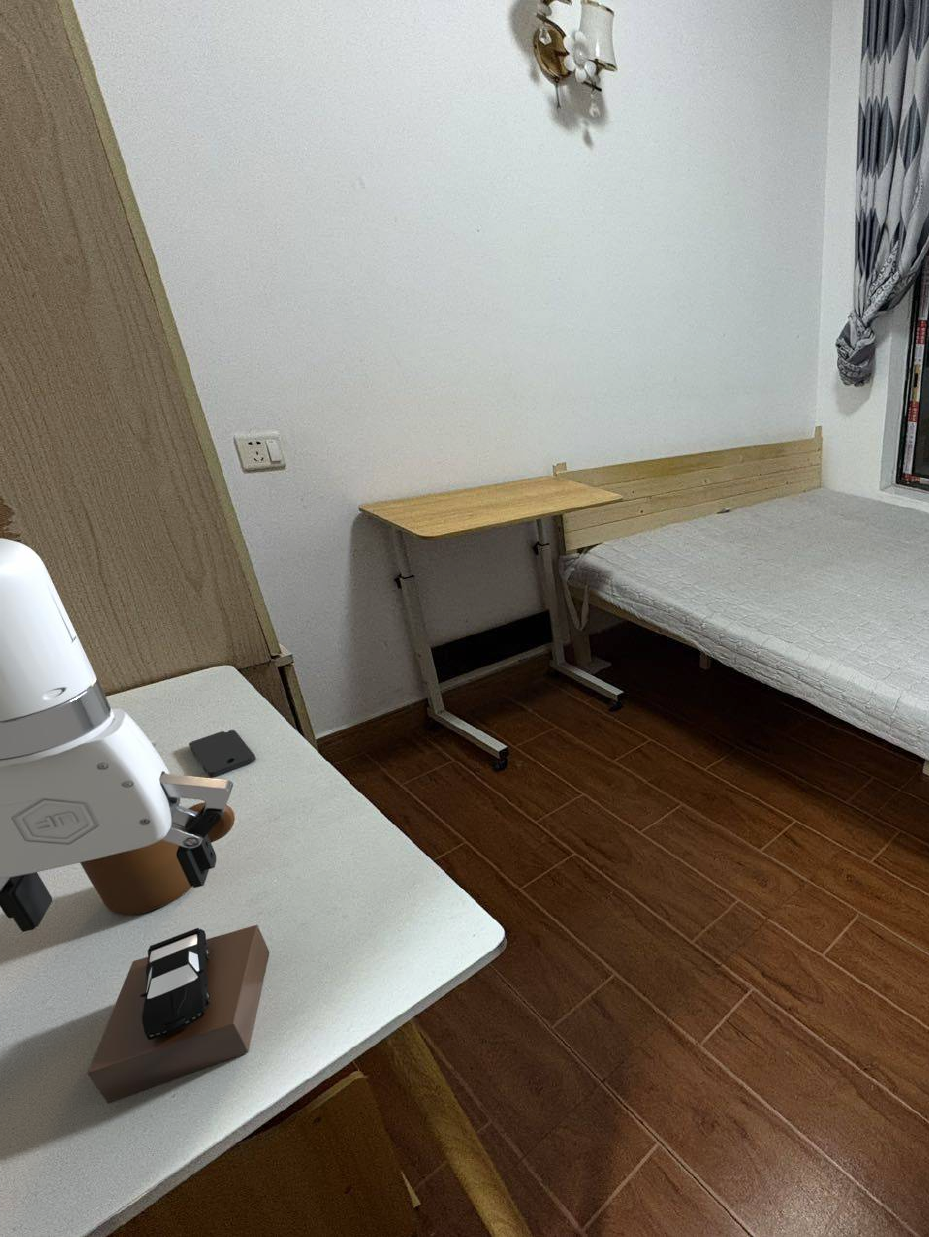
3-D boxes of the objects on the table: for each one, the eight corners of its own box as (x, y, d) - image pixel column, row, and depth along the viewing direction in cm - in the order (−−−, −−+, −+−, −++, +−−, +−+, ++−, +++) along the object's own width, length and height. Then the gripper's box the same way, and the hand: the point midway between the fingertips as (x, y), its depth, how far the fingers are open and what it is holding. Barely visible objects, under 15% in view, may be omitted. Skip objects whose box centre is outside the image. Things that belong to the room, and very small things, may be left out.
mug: (255, 839, 79) (229, 776, 75) (250, 882, 74) (222, 816, 70) (115, 879, 73) (79, 813, 69) (99, 930, 68) (58, 861, 63)
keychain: (232, 727, 97) (255, 756, 91) (234, 731, 97) (257, 760, 92) (187, 742, 93) (208, 773, 88) (189, 746, 93) (210, 778, 88)
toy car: (212, 1021, 56) (201, 1000, 55) (146, 1051, 54) (133, 1030, 53) (211, 939, 63) (201, 919, 62) (152, 962, 61) (140, 942, 59)
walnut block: (107, 1103, 54) (86, 1073, 52) (149, 989, 62) (132, 960, 61) (248, 1052, 58) (233, 1023, 56) (269, 952, 66) (257, 924, 65)
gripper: (-208, 783, 39) (-62, 976, 47) (180, 718, 47) (252, 892, 55) (-128, 716, 45) (-10, 897, 52) (205, 668, 53) (267, 832, 60)
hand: (124, 895), depth 54 cm, fingers open, 9 cm apart
